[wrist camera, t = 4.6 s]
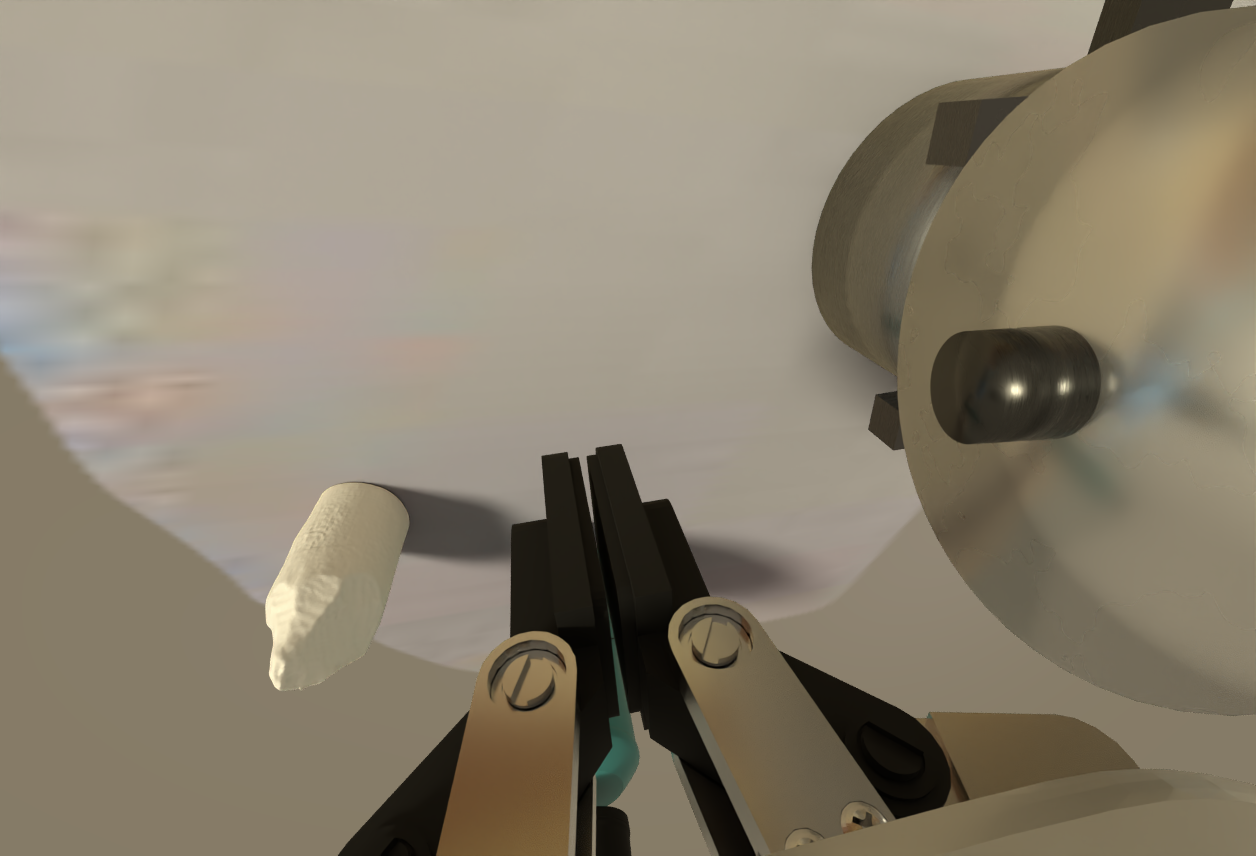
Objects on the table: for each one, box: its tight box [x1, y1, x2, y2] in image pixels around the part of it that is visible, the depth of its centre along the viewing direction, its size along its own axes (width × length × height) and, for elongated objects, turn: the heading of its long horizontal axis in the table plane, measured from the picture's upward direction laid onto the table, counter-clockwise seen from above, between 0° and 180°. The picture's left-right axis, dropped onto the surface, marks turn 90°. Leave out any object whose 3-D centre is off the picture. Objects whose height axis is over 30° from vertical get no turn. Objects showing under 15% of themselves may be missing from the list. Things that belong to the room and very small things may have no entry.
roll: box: [265, 483, 410, 691], centre depth 28 cm, size 6×12×6 cm
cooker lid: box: [897, 6, 1256, 716], centre depth 14 cm, size 16×16×4 cm
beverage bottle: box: [595, 551, 640, 856], centre depth 29 cm, size 6×7×20 cm
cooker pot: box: [812, 0, 1233, 450], centre depth 26 cm, size 20×17×11 cm
